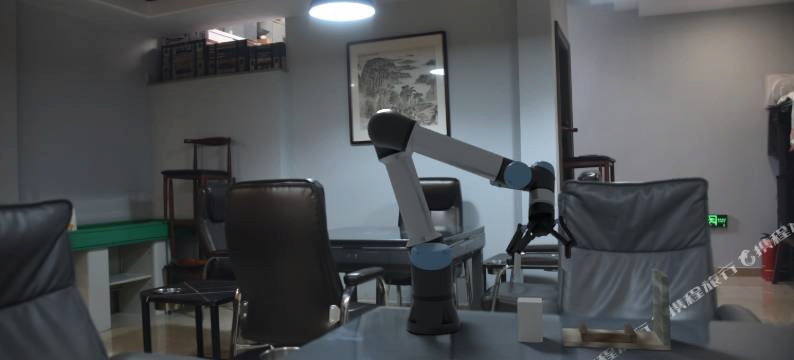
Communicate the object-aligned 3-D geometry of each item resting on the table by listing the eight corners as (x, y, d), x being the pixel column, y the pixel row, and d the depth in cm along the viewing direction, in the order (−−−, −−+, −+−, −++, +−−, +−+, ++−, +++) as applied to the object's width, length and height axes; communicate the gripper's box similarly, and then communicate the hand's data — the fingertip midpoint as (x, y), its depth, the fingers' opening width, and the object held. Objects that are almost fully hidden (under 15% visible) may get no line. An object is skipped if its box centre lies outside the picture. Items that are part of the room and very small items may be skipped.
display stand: (564, 346, 140) (561, 275, 140) (562, 332, 152) (560, 267, 152) (671, 350, 133) (668, 276, 134) (660, 336, 146) (657, 268, 146)
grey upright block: (518, 341, 145) (517, 302, 145) (519, 335, 151) (518, 297, 151) (542, 342, 143) (541, 302, 143) (543, 336, 149) (541, 298, 149)
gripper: (588, 206, 164) (590, 272, 151) (507, 222, 177) (503, 284, 164) (579, 192, 159) (581, 258, 147) (497, 209, 172) (492, 271, 160)
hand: (540, 272), depth 155 cm, fingers open, 13 cm apart
